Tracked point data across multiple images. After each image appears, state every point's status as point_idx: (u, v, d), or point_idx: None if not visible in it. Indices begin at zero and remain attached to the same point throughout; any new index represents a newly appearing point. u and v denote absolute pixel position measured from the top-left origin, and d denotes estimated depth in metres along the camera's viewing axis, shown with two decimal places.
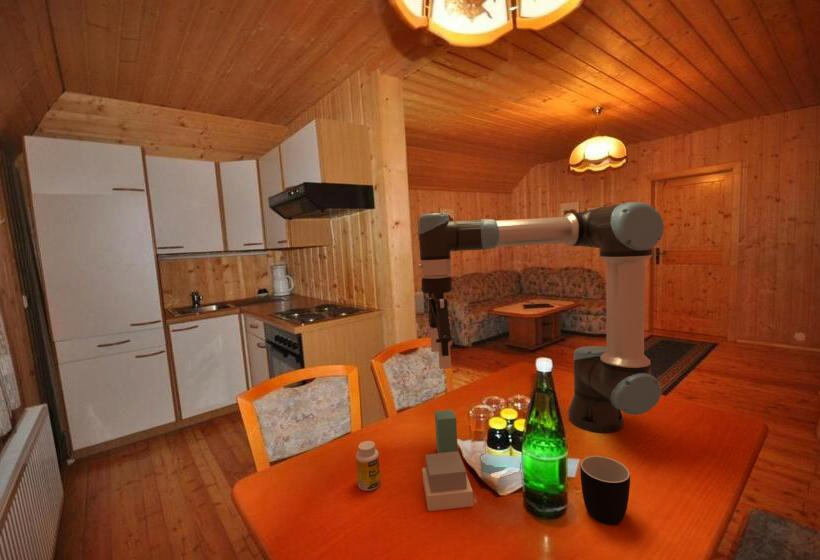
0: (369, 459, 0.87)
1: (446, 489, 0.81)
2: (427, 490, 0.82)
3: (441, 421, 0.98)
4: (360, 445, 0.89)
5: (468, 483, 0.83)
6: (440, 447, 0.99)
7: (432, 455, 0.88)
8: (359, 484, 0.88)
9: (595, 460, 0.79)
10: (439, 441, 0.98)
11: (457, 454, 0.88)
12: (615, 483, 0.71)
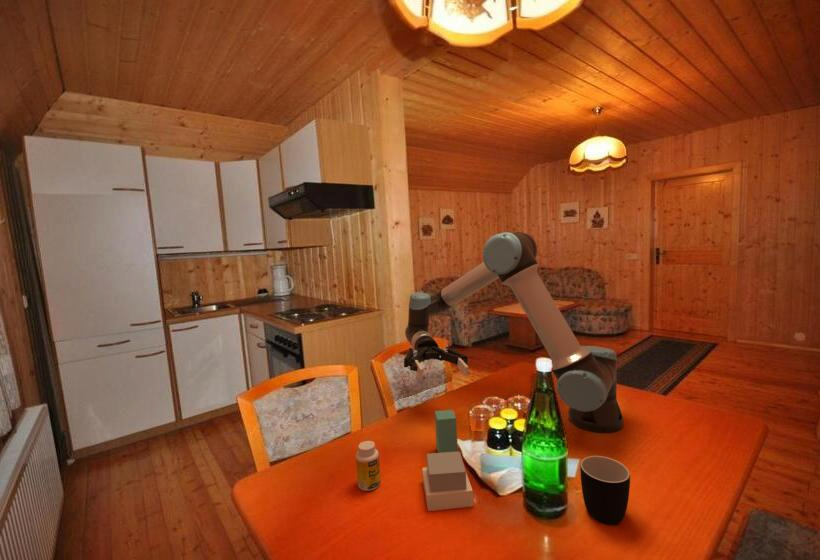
0: (369, 459, 0.87)
1: (445, 489, 0.81)
2: (427, 489, 0.82)
3: (441, 421, 0.98)
4: (360, 445, 0.89)
5: (468, 483, 0.83)
6: (440, 447, 0.99)
7: (433, 454, 0.88)
8: (359, 484, 0.88)
9: (595, 460, 0.79)
10: (439, 441, 0.98)
11: (458, 454, 0.87)
12: (615, 483, 0.71)
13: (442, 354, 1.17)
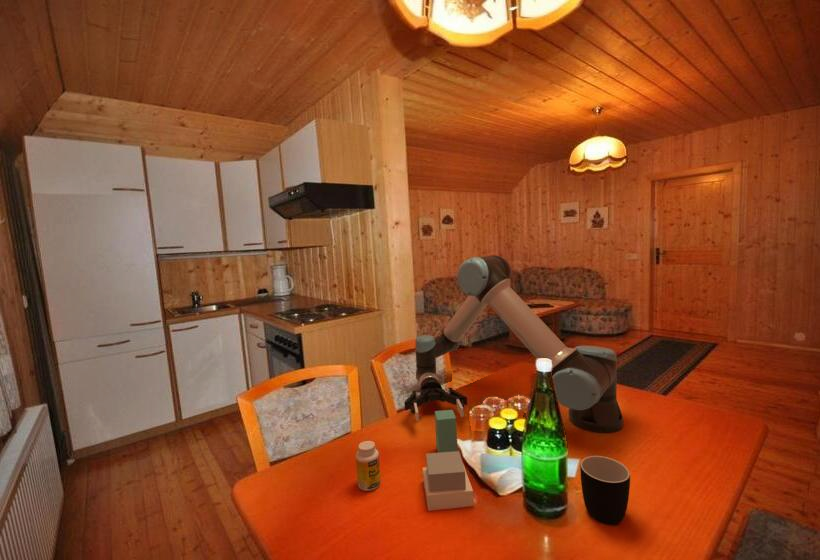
0: (370, 459, 0.87)
1: (445, 489, 0.81)
2: (427, 489, 0.82)
3: (441, 421, 0.98)
4: (360, 445, 0.89)
5: (468, 483, 0.83)
6: (440, 447, 0.99)
7: (433, 454, 0.88)
8: (359, 484, 0.88)
9: (595, 460, 0.79)
10: (439, 441, 0.98)
11: (458, 454, 0.87)
12: (615, 483, 0.71)
13: (443, 395, 1.22)
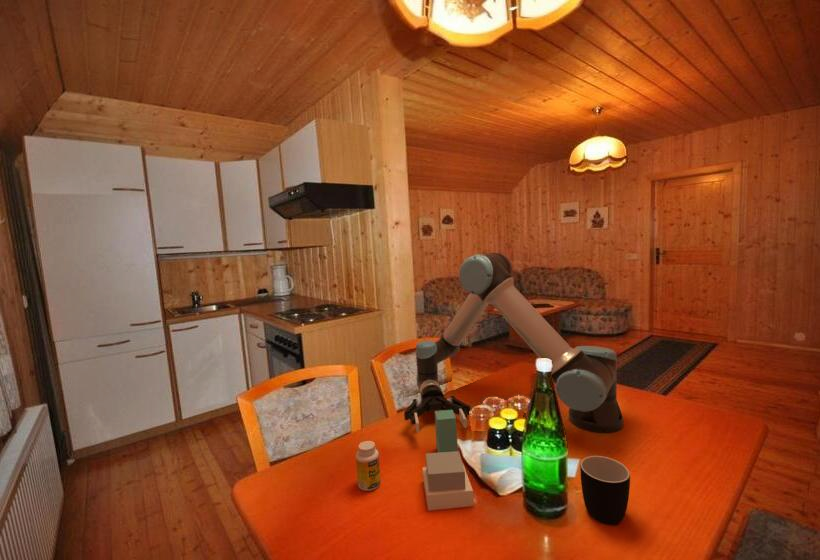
0: (370, 459, 0.87)
1: (444, 489, 0.81)
2: (427, 489, 0.82)
3: (441, 421, 0.98)
4: (360, 445, 0.89)
5: (468, 482, 0.83)
6: (440, 447, 0.99)
7: (432, 454, 0.88)
8: (359, 484, 0.88)
9: (595, 460, 0.79)
10: (439, 441, 0.98)
11: (457, 454, 0.87)
12: (615, 483, 0.71)
13: (445, 404, 1.17)
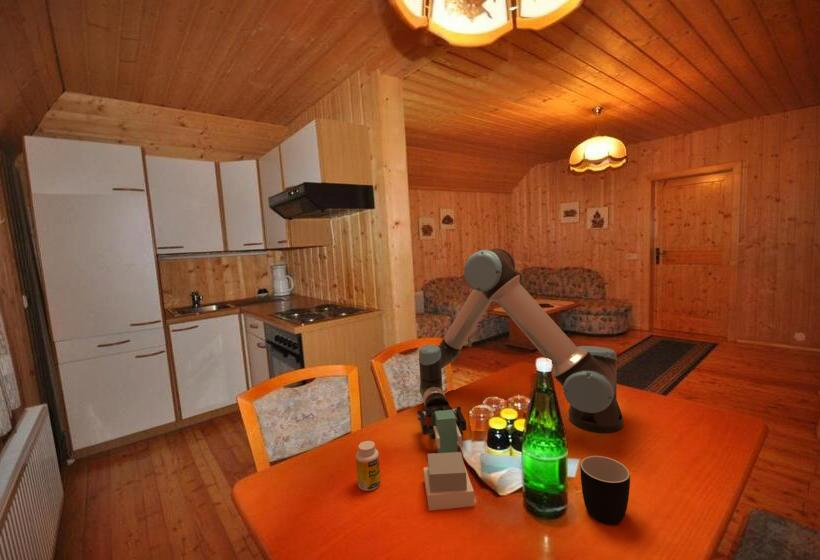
0: (369, 459, 0.87)
1: (446, 489, 0.81)
2: (428, 489, 0.82)
3: (441, 421, 0.98)
4: (360, 445, 0.89)
5: (469, 483, 0.83)
6: (440, 447, 0.99)
7: (434, 455, 0.88)
8: (359, 484, 0.88)
9: (595, 460, 0.79)
10: None
11: (459, 455, 0.87)
12: (615, 483, 0.71)
13: None
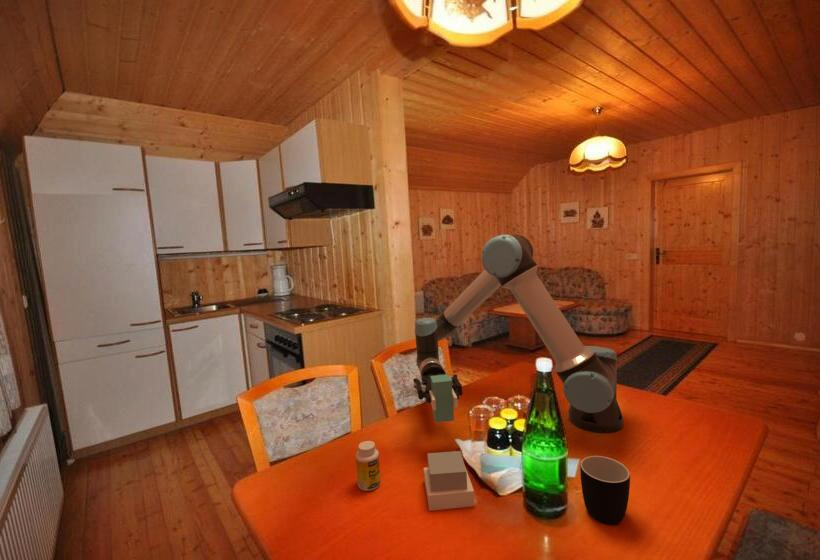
0: (369, 459, 0.87)
1: (446, 489, 0.81)
2: (428, 490, 0.82)
3: (436, 384, 0.97)
4: (360, 445, 0.89)
5: (469, 483, 0.83)
6: (436, 410, 0.98)
7: (434, 454, 0.88)
8: (359, 484, 0.88)
9: (595, 460, 0.79)
10: None
11: (459, 454, 0.88)
12: (615, 483, 0.71)
13: None
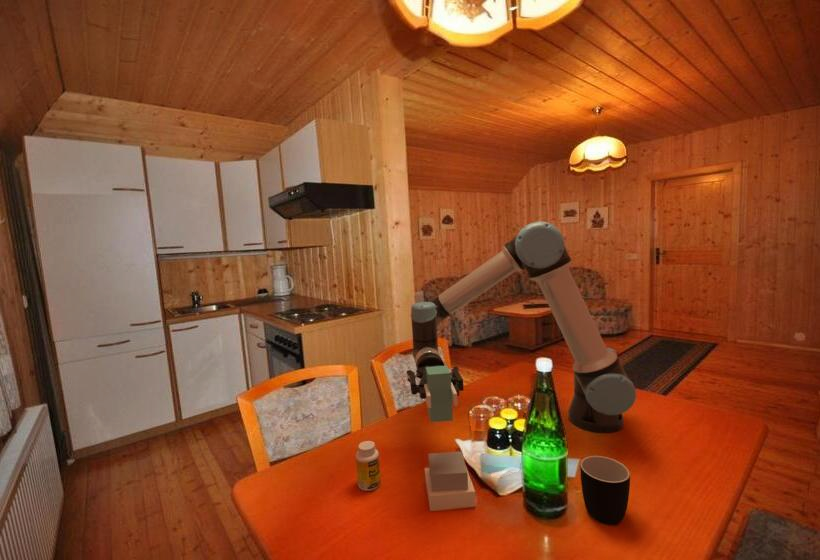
0: (369, 459, 0.87)
1: (447, 489, 0.81)
2: (429, 490, 0.81)
3: (432, 376, 0.81)
4: (360, 445, 0.89)
5: (470, 483, 0.83)
6: (431, 408, 0.82)
7: (435, 454, 0.88)
8: (359, 484, 0.88)
9: (595, 460, 0.79)
10: None
11: (460, 455, 0.87)
12: (615, 483, 0.71)
13: None
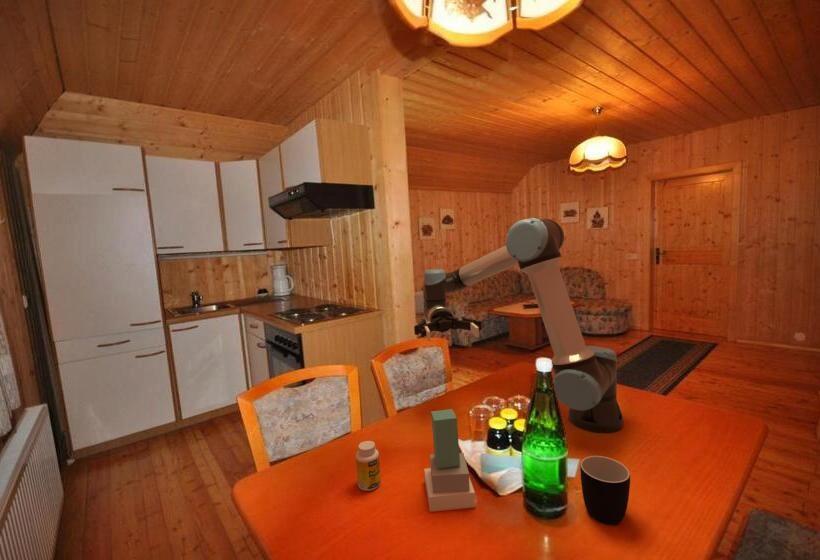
0: (370, 459, 0.87)
1: (448, 490, 0.81)
2: (429, 491, 0.81)
3: (439, 422, 0.82)
4: (360, 445, 0.89)
5: (470, 484, 0.83)
6: (439, 454, 0.82)
7: None
8: (359, 484, 0.88)
9: (595, 460, 0.79)
10: (437, 447, 0.82)
11: (462, 456, 0.87)
12: (615, 483, 0.71)
13: (455, 322, 1.14)
